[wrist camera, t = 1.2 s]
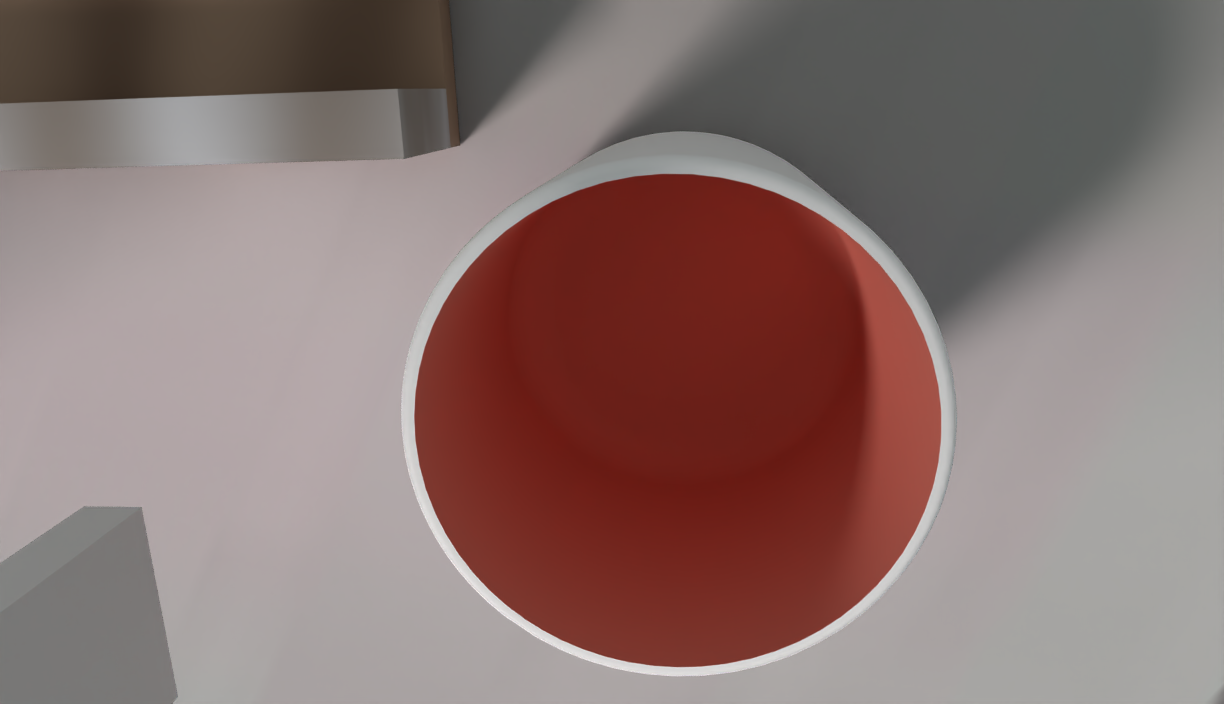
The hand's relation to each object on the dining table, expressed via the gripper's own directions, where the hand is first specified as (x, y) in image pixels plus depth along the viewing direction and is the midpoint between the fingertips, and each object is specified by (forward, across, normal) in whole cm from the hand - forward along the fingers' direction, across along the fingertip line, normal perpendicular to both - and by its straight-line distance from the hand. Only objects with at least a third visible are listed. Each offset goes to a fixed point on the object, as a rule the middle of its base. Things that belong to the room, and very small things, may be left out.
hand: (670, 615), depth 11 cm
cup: (+16, 0, 0) cm, 16 cm away
